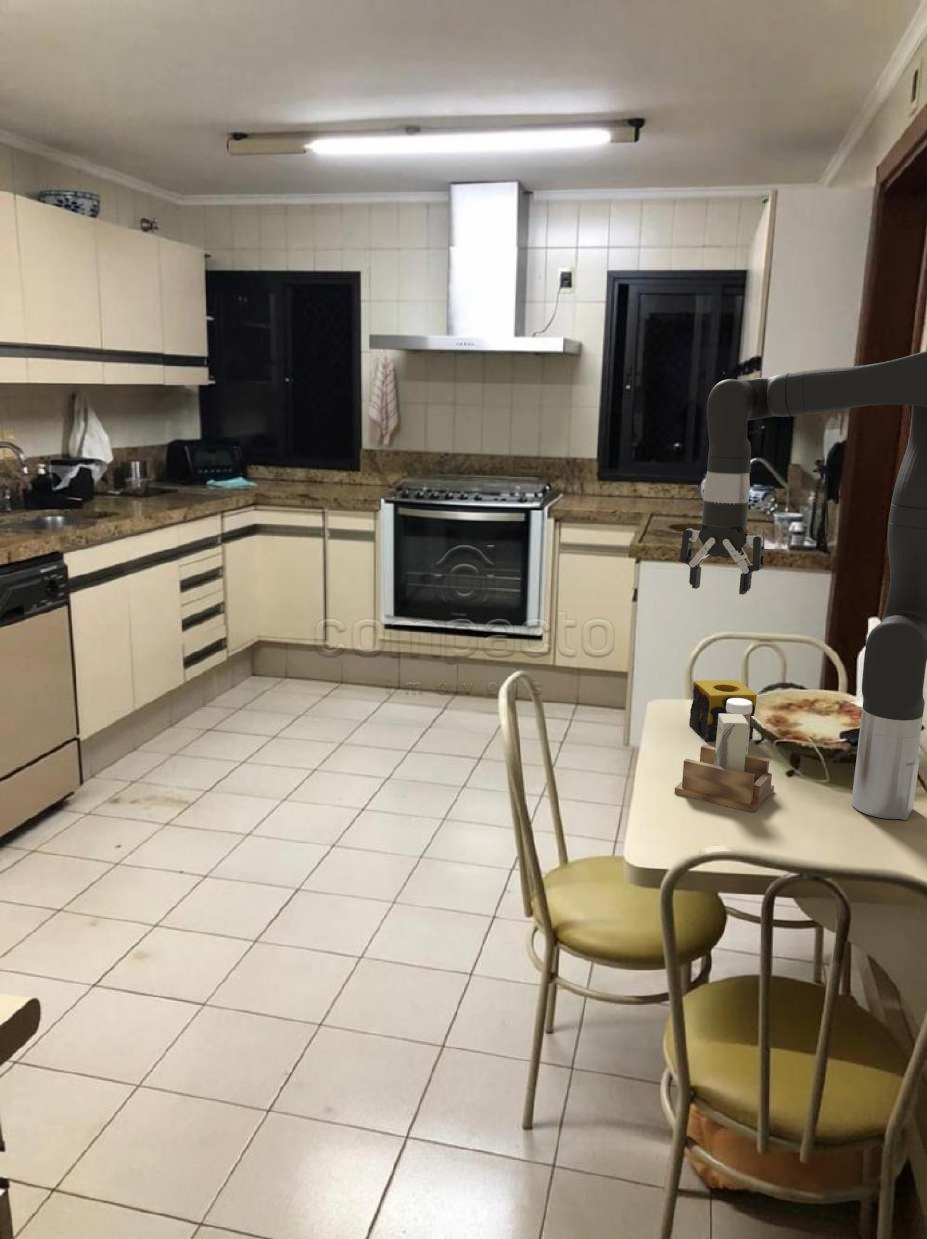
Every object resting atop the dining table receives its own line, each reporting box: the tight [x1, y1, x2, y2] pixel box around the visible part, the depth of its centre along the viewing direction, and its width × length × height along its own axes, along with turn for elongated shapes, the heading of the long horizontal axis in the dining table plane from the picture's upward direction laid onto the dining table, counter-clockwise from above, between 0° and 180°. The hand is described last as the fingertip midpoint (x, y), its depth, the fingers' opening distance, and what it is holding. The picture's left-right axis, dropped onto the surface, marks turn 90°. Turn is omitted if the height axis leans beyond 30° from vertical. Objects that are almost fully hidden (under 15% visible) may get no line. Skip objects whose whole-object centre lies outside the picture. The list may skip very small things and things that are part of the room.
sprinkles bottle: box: [726, 698, 752, 755], centre depth 177 cm, size 5×5×14 cm
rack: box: [673, 744, 775, 814], centre depth 168 cm, size 14×11×6 cm
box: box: [714, 714, 749, 772], centre depth 166 cm, size 5×4×13 cm
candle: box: [688, 679, 758, 742], centre depth 197 cm, size 10×10×10 cm
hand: (718, 590), depth 169 cm, fingers open, 8 cm apart
